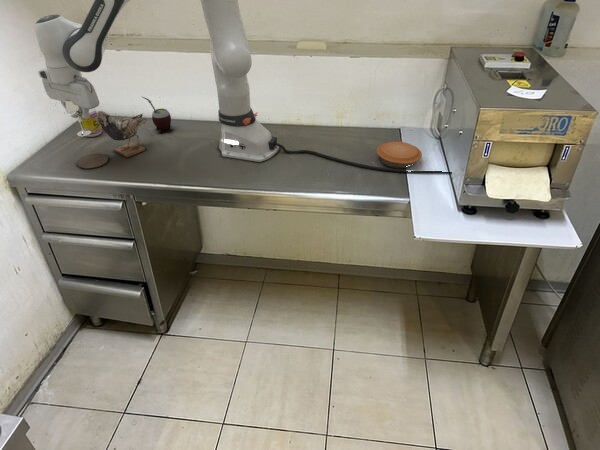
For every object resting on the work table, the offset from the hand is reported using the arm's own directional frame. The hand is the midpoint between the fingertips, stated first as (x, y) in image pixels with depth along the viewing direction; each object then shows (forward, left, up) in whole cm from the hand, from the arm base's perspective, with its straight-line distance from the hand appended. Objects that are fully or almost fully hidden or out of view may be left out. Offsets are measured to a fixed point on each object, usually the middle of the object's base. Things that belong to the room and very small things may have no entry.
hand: (78, 116), depth 143 cm
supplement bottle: (+18, -16, -17) cm, 30 cm away
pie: (-94, -51, -17) cm, 108 cm away
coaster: (0, 0, -17) cm, 17 cm away
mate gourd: (-4, -31, -17) cm, 36 cm away
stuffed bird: (-5, -12, -17) cm, 22 cm away
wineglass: (0, 0, -6) cm, 6 cm away
